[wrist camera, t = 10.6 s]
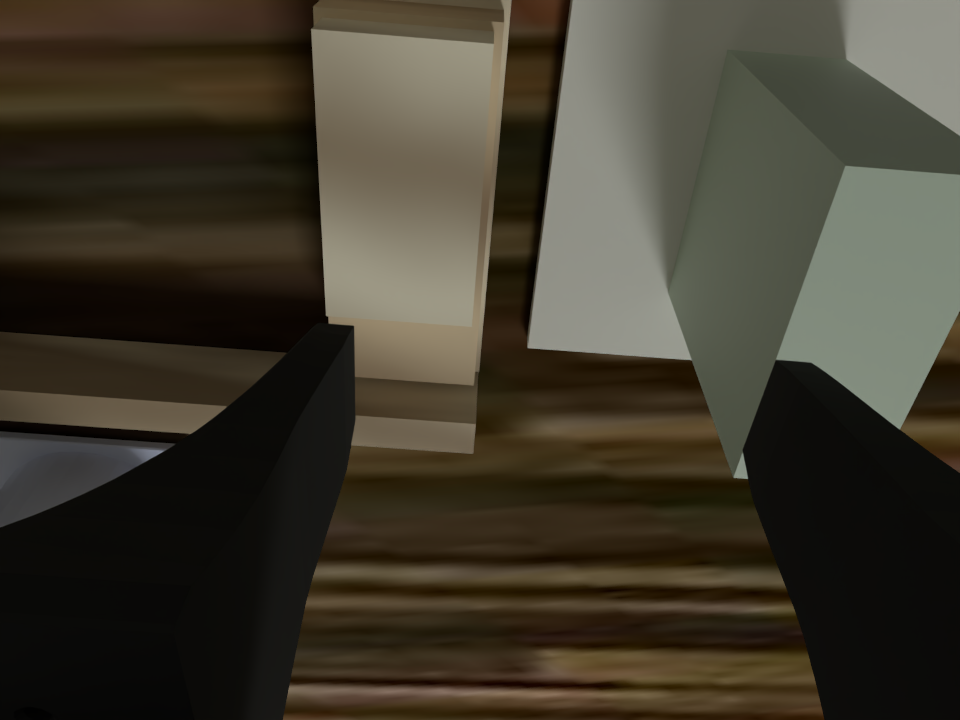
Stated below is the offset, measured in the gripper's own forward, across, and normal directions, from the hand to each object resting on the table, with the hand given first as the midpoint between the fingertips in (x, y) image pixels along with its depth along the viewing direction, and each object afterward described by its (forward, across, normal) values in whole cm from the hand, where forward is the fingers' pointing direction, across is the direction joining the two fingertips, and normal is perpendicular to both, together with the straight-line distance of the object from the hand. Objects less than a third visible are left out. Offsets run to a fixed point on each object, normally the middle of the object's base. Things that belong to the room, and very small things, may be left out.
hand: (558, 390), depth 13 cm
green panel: (+10, -6, 0) cm, 11 cm away
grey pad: (+10, -6, 0) cm, 12 cm away
